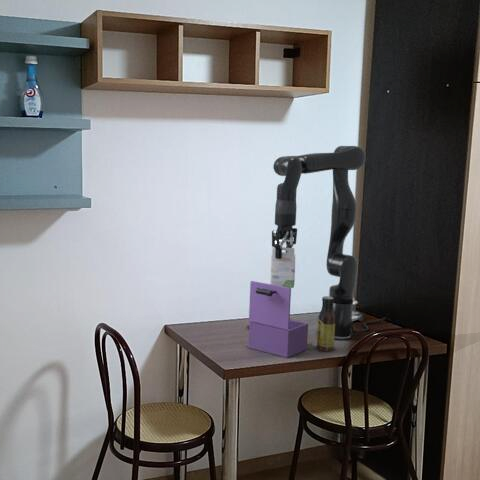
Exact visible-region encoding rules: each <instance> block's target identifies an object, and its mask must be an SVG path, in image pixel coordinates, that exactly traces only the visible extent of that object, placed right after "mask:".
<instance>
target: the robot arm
mask: <svg viewBox="0 0 480 480" xmlns="http://www.w3.org/2000/svg"><path fill="white" fill-rule="evenodd" d="M366 158H367V157H366V151H364V149H363V148H362V147H360V146H357V145H339V146H336V148H335V149H334V150H333V152H315V153H307V154H306V153H305V154H301V155H286V156H285V155H284V156H283V155H282V156H279V157H278V158H277V159H275V161H274V163H273V164H272V165H273V166H272V167H273V171H274V173H275V174H276V175H277V176H280V177H284V181H283V182H281V183H278V184H277V186H276V199H275V206H274V207H275V208H274V209H275V210H274V212H275V213H274V225H275V226H277V227H276V230H271V247H272V248H273V247H275V248H276V252H275V258H276V259H281V258H282V252H283V250H282V247H283V246H284V244H285V248H294V246H295V245H296V244H297V236H298V228H295V226H296V225H297V191H298V190H297V189H298V186H299V183H300V180H301V176H302V175H303V174H304V175H306V174H307V175H308V174H314V173H320V172H326V171H330V170H331V171H332V201H331V214H330V215H331V219H330V220H331V221H330V224H331V225H330V233H329V243H328V249H327V254H326V255H327V256H326V262H325V263H326V265H325V266H326V271H327V273H328V274H329V275H330V276H332V277H336V278H339V282H338V284H333V285H330V286H329V291H328V296H329V297H333V298H334V301H333V309H332V310H333V312H334V314H335V334H334V340H340V341H341V340H344V341H345V340H349V339H352V332H353V333H365V332H367V331H369V330H370V327H369V326H368V325H369V324H377V323H380V322H382V321H388V322H391V319H390V318H388V319H386V318H387V317H382V318H379V319H377V320H372V321H364V322H363V323H362V325H363V327H365V329H361V330H355V329H354V321H352V311H353V308H354V304H353V298H354V292H355V290H356V286H357V280H358V279H357V278H358V270H359V269H358V268H359V267H358V266H359V264H358V260H357V258H356V257H355V256H354V255H350V254H344V246H345V245H344V244H345V240H346V238H347V237H348V236H349V233H350V232H351V230H352V229H353V227H354V225H355V223H356V220H357V201H356V198H355V196H354V194H353V191H352V190H351V186H350V183H349V171H356V170H359V169H361V168H362V167H363V166H364V165H365V162H366ZM285 252H287V251H285Z"/></svg>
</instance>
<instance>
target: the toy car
mask: <svg viewBox="0 0 480 480" xmlns="http://www.w3.org/2000/svg"><path fill="white" fill-rule="evenodd" d="M358 303H359V301H357V300H356V299H355V298H354V297H353V308H354V309H353V310H352V321H353V322H354V321H358V322H363V321H364V315H363V314H360V312H359V311H356V305H358Z"/></svg>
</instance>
